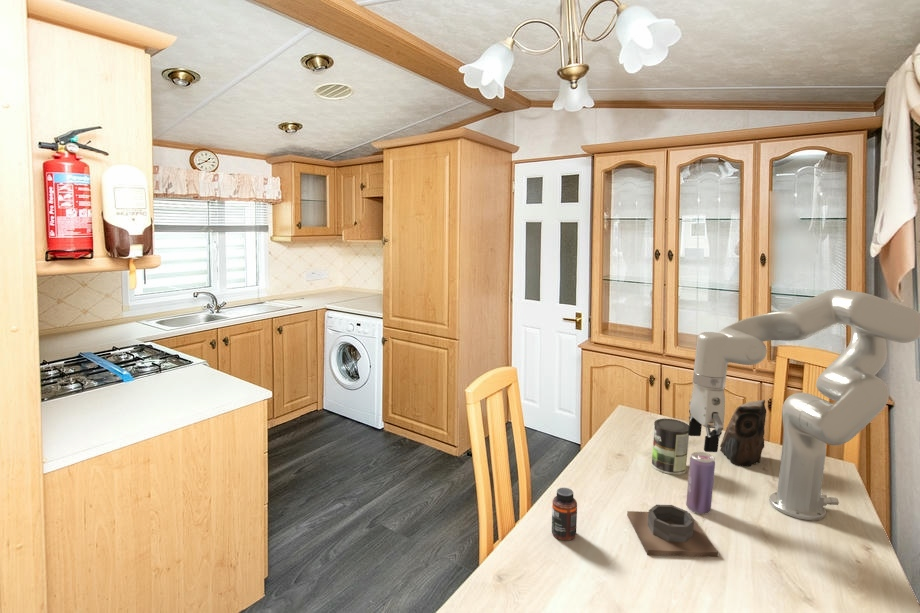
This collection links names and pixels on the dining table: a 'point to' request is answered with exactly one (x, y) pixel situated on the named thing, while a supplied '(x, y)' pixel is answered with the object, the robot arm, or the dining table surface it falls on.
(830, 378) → the robot arm
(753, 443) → the owl
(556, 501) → the supplement bottle
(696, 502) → the beverage can
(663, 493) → the dining table surface
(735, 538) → the dining table surface
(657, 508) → the can holder
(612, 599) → the dining table surface
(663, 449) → the coffee can
